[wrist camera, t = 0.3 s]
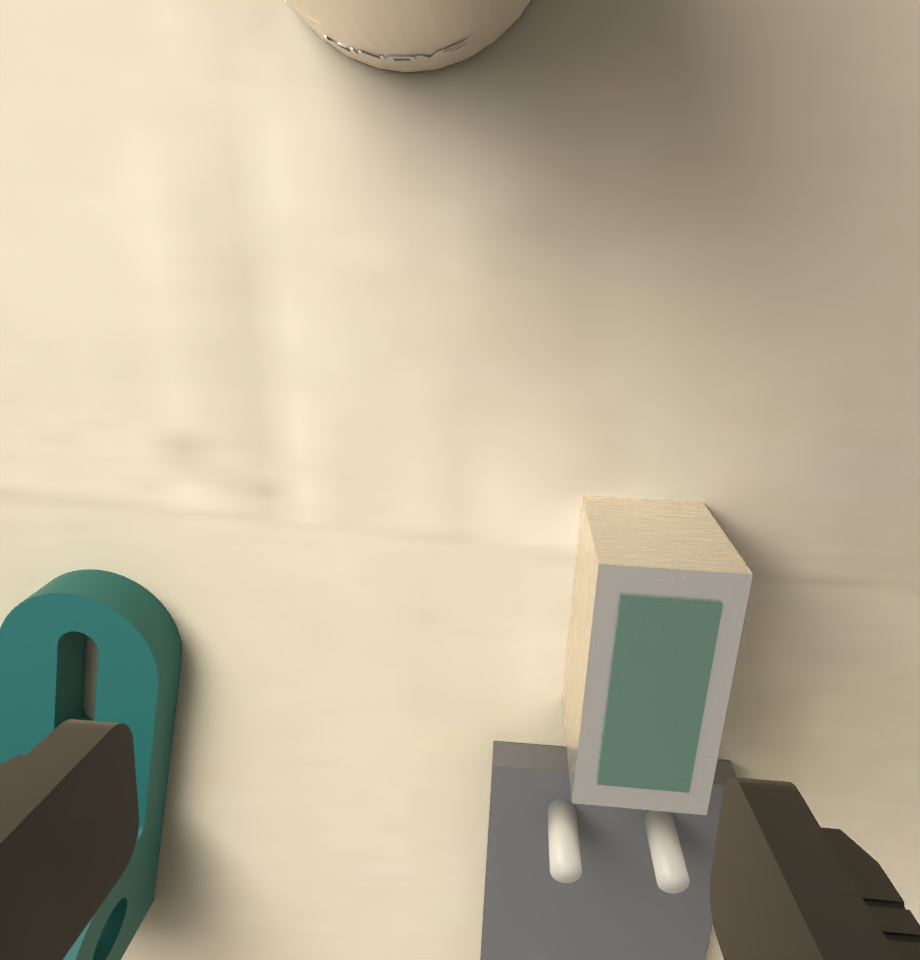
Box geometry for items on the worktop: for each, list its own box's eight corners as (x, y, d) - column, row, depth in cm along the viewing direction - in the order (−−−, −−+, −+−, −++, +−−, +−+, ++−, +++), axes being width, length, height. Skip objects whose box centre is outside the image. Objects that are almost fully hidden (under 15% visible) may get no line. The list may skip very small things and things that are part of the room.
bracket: (155, 896, 35) (58, 1070, 28) (26, 864, 35) (-105, 1029, 28) (191, 589, 29) (79, 707, 22) (35, 550, 29) (-129, 655, 22)
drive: (581, 494, 27) (599, 566, 21) (703, 502, 26) (754, 576, 20) (561, 694, 30) (572, 806, 24) (670, 703, 29) (707, 818, 23)
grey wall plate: (493, 741, 30) (489, 822, 26) (729, 760, 30) (764, 847, 25) (477, 1000, 36) (472, 1103, 31) (678, 1022, 35) (700, 1130, 31)
